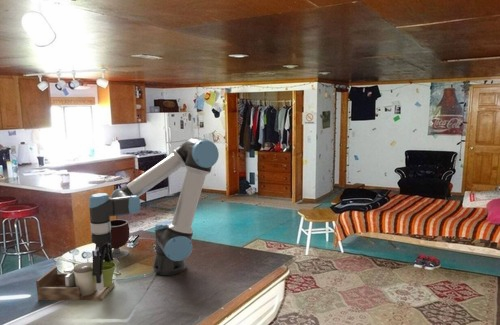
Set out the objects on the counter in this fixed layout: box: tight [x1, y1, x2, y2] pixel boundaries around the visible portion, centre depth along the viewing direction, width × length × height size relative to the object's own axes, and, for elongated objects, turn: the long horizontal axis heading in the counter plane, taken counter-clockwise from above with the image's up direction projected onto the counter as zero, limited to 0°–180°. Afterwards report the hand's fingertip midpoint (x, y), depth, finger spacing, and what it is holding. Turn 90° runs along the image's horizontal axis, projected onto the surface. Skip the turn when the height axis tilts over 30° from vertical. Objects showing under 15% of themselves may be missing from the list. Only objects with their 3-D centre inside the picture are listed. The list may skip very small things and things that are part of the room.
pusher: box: [63, 266, 75, 287], centre depth 165 cm, size 4×11×10 cm, turn 178°
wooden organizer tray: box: [35, 266, 116, 302], centre depth 165 cm, size 26×14×9 cm, turn 88°
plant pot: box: [91, 260, 117, 288], centre depth 164 cm, size 9×9×9 cm
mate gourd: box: [110, 218, 130, 259], centre depth 207 cm, size 16×14×20 cm
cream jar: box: [73, 261, 97, 296], centre depth 165 cm, size 8×8×11 cm
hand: (104, 284), depth 164 cm, fingers closed on plant pot, 8 cm apart
